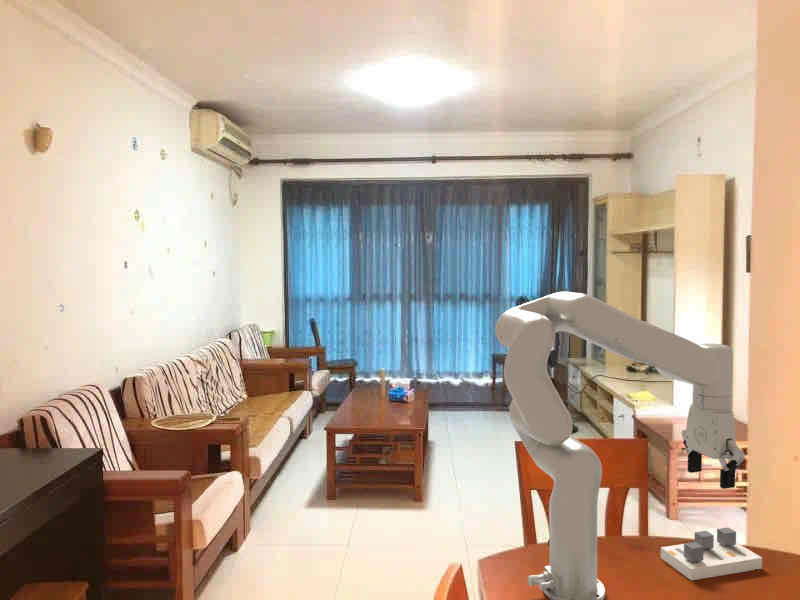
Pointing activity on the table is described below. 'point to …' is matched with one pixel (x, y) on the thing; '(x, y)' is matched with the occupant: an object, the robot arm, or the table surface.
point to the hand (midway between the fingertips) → (710, 479)
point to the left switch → (693, 551)
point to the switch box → (712, 560)
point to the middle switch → (704, 539)
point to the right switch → (726, 536)
